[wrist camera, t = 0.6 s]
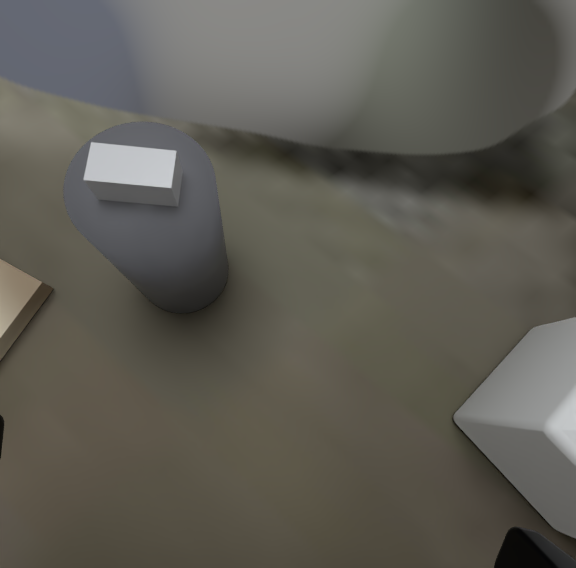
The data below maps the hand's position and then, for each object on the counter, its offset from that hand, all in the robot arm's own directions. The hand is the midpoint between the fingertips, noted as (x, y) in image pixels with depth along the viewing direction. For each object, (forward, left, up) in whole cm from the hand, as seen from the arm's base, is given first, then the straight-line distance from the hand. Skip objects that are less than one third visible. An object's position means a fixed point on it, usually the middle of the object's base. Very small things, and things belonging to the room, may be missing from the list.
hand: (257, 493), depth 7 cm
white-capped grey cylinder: (+5, +7, -13) cm, 16 cm away
